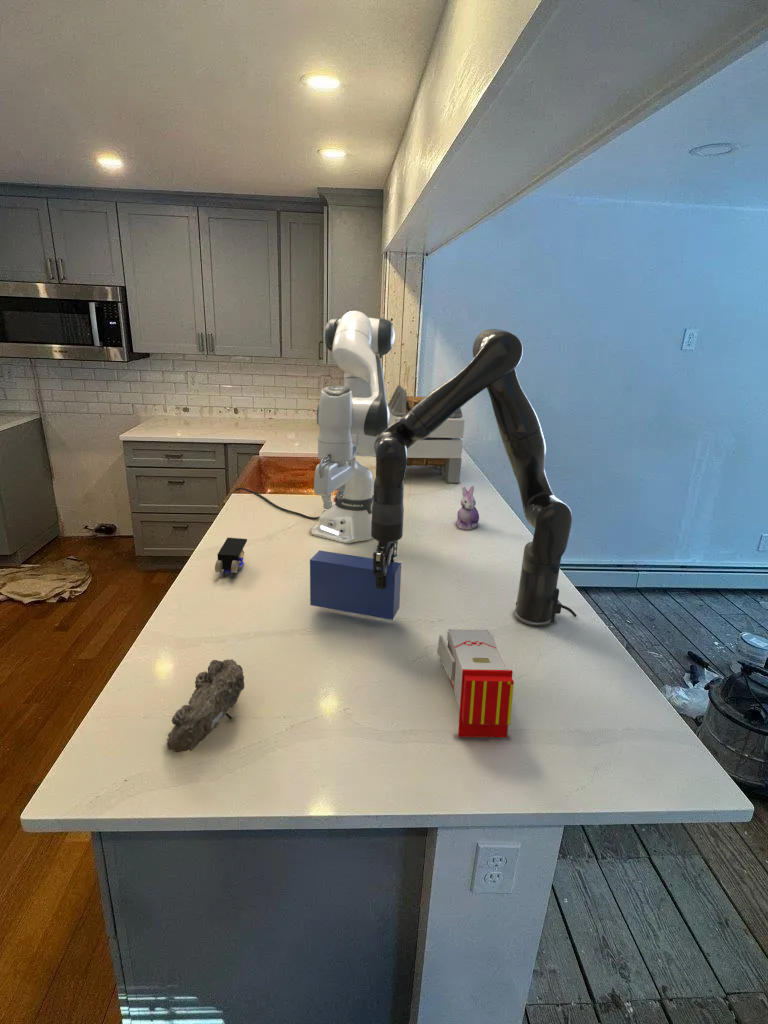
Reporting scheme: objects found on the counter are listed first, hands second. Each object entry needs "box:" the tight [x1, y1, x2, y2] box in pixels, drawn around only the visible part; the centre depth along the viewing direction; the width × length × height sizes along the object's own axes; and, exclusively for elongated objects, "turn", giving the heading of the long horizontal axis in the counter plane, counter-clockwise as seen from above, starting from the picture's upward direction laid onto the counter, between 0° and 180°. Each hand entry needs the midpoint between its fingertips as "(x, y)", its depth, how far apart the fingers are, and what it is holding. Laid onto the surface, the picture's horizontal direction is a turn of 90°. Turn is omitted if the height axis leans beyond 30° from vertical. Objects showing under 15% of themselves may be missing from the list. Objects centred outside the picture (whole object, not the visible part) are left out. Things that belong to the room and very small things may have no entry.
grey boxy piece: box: [387, 384, 465, 484], centre depth 268 cm, size 34×33×41 cm
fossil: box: [166, 658, 245, 754], centre depth 106 cm, size 22×10×15 cm
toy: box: [437, 628, 515, 738], centre depth 117 cm, size 12×13×30 cm
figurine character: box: [214, 537, 248, 578], centre depth 166 cm, size 7×8×15 cm
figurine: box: [456, 485, 480, 530], centre depth 208 cm, size 9×10×15 cm
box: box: [309, 550, 402, 621], centre depth 142 cm, size 22×6×13 cm, turn 74°
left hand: (334, 503), depth 149 cm, fingers open, 8 cm apart
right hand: (384, 581), depth 139 cm, fingers closed on box, 6 cm apart
